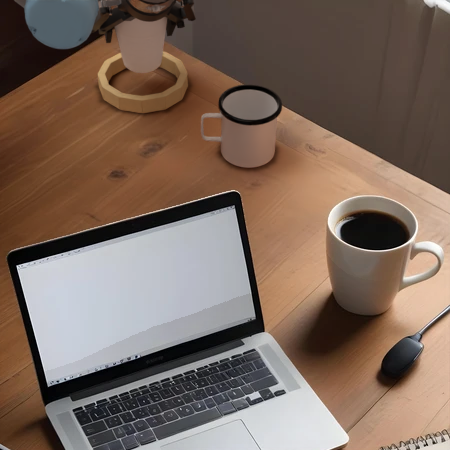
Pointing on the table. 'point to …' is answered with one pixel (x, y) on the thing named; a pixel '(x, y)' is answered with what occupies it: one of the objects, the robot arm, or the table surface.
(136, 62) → the cup
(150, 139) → the table surface
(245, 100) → the mug
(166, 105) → the tan faceted ring
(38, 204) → the table surface
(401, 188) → the table surface
